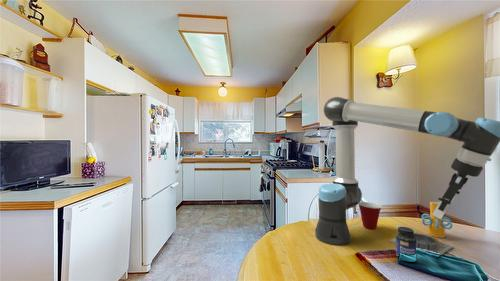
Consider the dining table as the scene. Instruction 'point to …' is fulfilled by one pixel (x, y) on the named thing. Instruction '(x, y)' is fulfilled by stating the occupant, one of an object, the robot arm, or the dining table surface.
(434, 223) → the cylinder
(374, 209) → the plastic cup
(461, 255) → the dining table surface
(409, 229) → the pill bottle
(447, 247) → the duct plate
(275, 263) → the dining table surface
